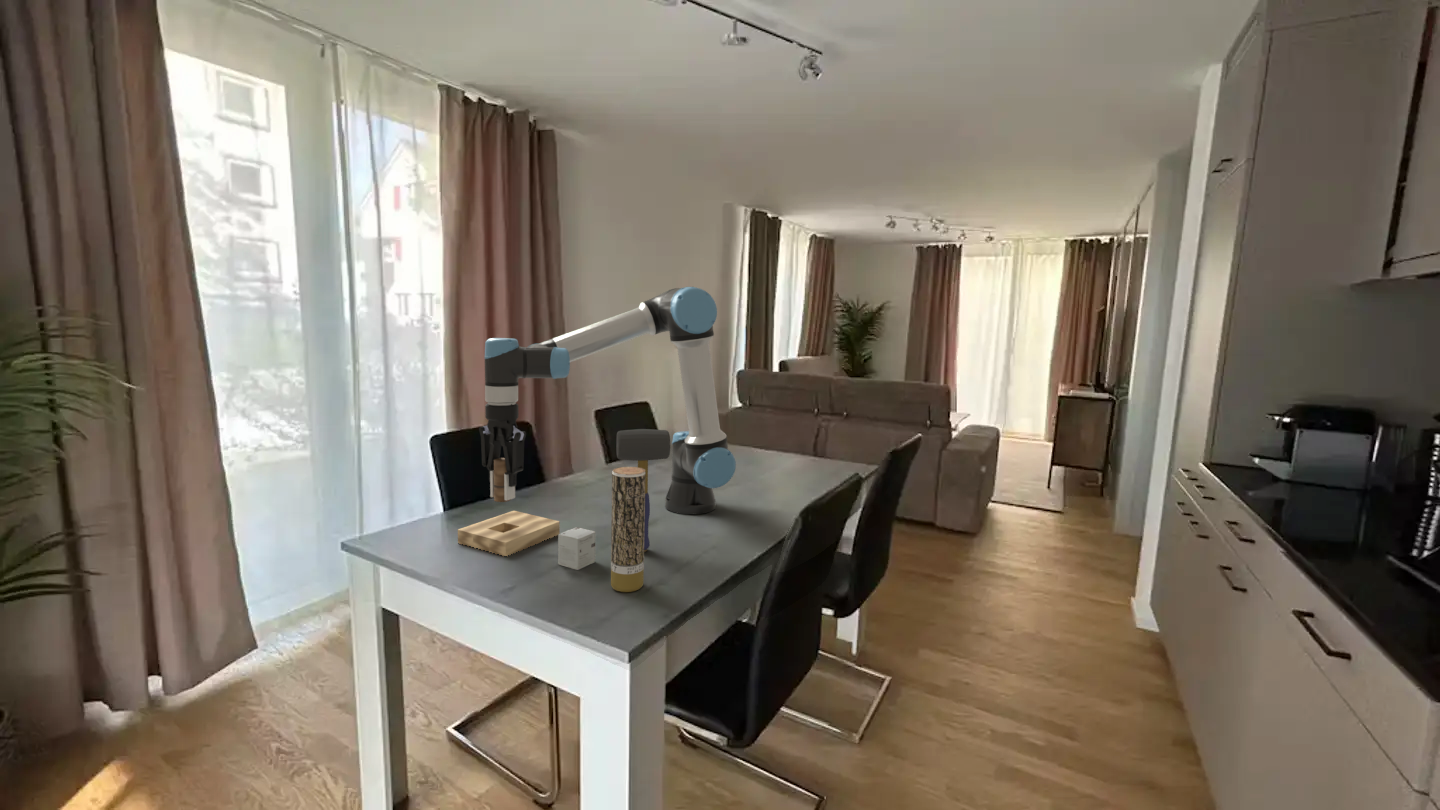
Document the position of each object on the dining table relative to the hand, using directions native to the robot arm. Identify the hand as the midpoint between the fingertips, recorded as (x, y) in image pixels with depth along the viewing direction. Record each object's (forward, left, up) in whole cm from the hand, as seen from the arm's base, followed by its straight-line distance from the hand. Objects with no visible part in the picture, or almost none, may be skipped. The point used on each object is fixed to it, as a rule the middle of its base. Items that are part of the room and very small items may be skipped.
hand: (502, 497), depth 152 cm
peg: (0, 0, -1) cm, 1 cm away
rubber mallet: (-32, -13, -11) cm, 36 cm away
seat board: (0, -2, -11) cm, 11 cm away
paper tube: (-41, +5, -11) cm, 43 cm away
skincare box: (-24, +1, -12) cm, 27 cm away
